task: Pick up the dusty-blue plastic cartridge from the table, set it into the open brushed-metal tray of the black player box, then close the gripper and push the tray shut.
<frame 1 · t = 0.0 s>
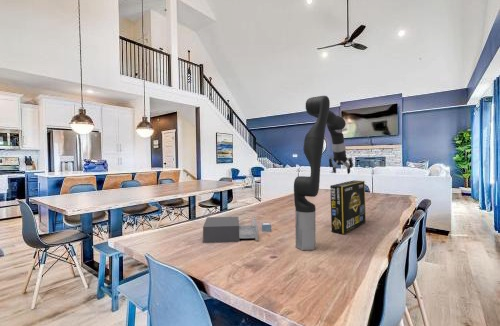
hand: (341, 173, 166), 31 cm above the table, tool tilted 20°, fingers open, 8 cm apart
box: (348, 227, 153), on the table
cartridge: (266, 230, 148), on the table
tray: (239, 228, 139), point 4 cm above the table, slide at 8.0 cm
housing: (222, 236, 138), on the table
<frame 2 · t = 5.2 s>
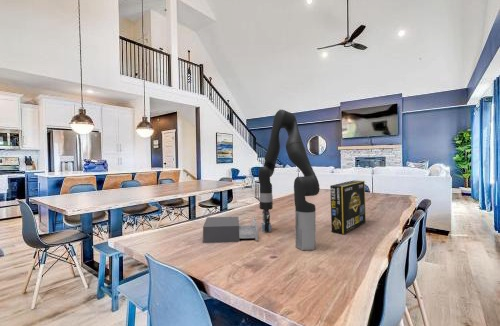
hand: (266, 230, 148), 0 cm above the table, tool pointing down, fingers closed on cartridge, 4 cm apart
cartridge: (266, 230, 148), on the table, touching gripper
everything else where it was.
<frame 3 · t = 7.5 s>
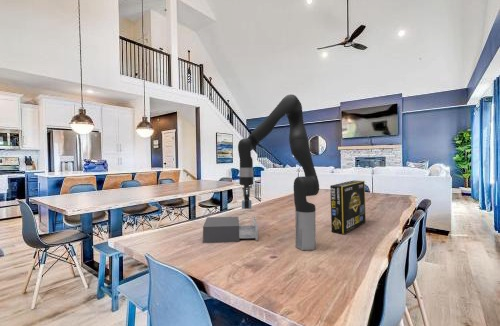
hand: (246, 207, 139), 15 cm above the table, tool pointing down, fingers closed on cartridge, 4 cm apart
cartridge: (246, 208, 139), point 15 cm above the table, touching gripper
everything else where it was.
when the fingers open (3 cm above the table, at t = 10.1 s): cartridge stays where it is, resting on tray.
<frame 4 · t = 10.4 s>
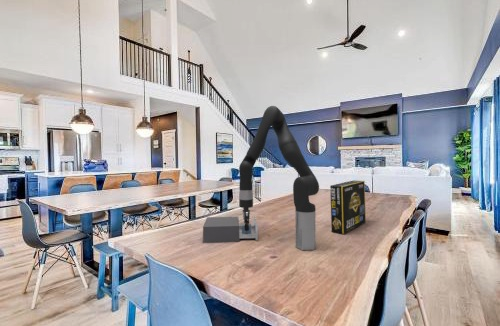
hand: (246, 228, 139), 4 cm above the table, tool pointing down, fingers open, 6 cm apart
cartridge: (246, 231, 139), point 2 cm above the table, touching tray
tray: (239, 228, 139), point 4 cm above the table, slide at 8.0 cm, touching cartridge
everything else where it was.
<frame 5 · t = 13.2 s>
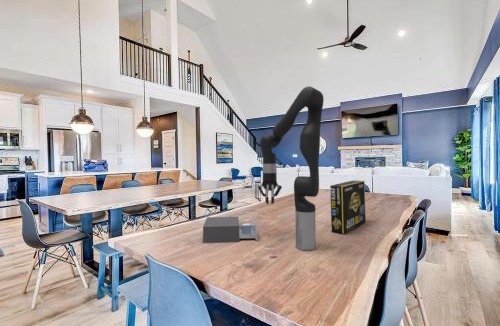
hand: (269, 203, 140), 17 cm above the table, tool pointing down, fingers closed
nothing on the table moved.
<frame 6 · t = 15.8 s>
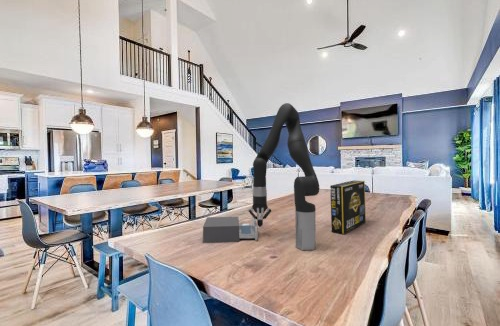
hand: (260, 226, 140), 5 cm above the table, tool pointing down, fingers closed
tray: (239, 228, 139), point 4 cm above the table, slide at 7.8 cm, touching cartridge, gripper
everything else where it was.
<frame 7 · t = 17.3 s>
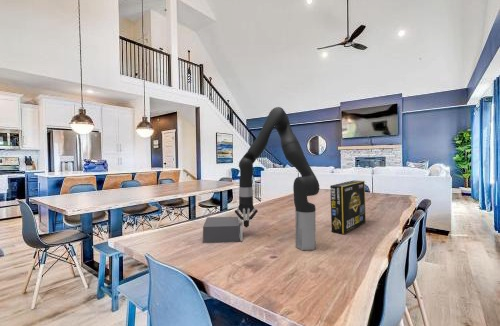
hand: (246, 227, 139), 5 cm above the table, tool pointing down, fingers closed
cartridge: (232, 232, 139), point 2 cm above the table, touching tray
tray: (225, 228, 138), point 4 cm above the table, slide at 0.2 cm, touching cartridge, gripper
everything else where it was.
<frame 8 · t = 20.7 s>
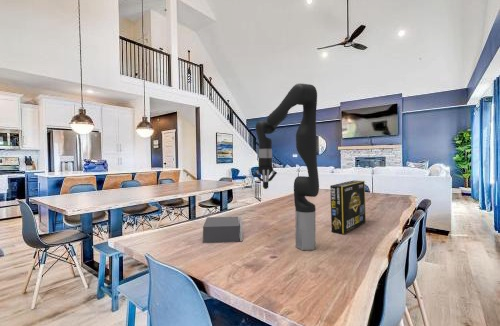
hand: (265, 188, 141), 25 cm above the table, tool pointing down, fingers closed
tray: (225, 228, 138), point 4 cm above the table, slide at 0.2 cm, touching cartridge
everything else where it was.
at the end: tray slide at 0.2 cm; cartridge inside the target area on the housing (4.5 cm from its centre), point 1.9 cm above the housing's base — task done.
